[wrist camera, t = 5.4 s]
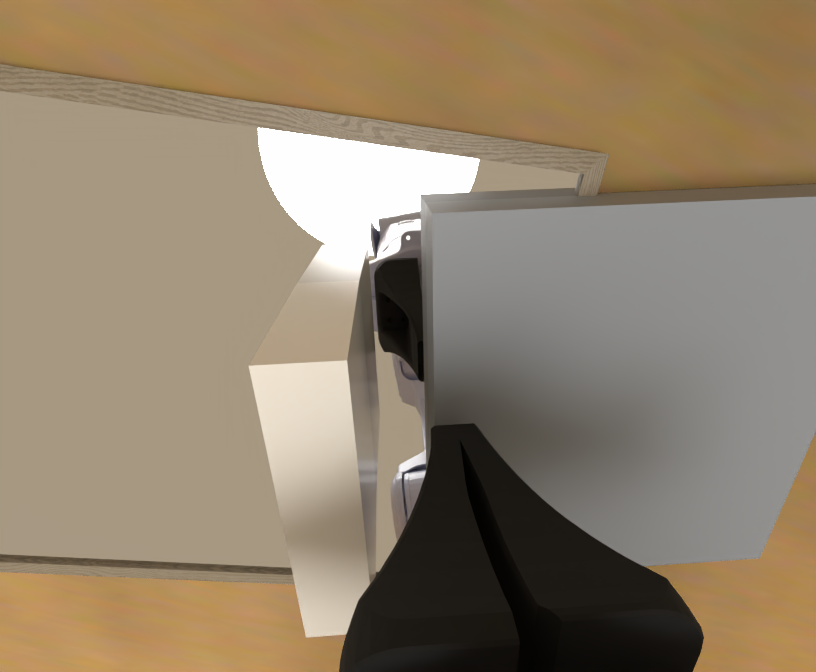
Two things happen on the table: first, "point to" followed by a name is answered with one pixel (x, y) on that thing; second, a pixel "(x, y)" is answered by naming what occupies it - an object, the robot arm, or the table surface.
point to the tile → (321, 448)
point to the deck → (634, 356)
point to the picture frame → (205, 309)
